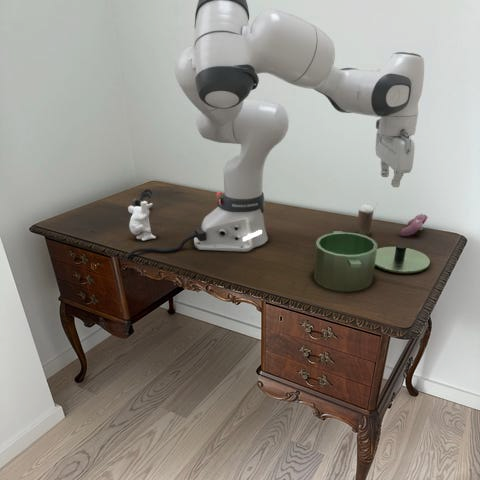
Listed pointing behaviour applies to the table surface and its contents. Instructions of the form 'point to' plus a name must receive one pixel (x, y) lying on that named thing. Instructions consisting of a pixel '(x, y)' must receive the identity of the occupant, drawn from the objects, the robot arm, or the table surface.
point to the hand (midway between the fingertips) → (389, 181)
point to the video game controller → (414, 225)
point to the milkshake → (365, 219)
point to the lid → (401, 259)
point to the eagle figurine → (143, 198)
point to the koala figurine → (141, 221)
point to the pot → (344, 261)
